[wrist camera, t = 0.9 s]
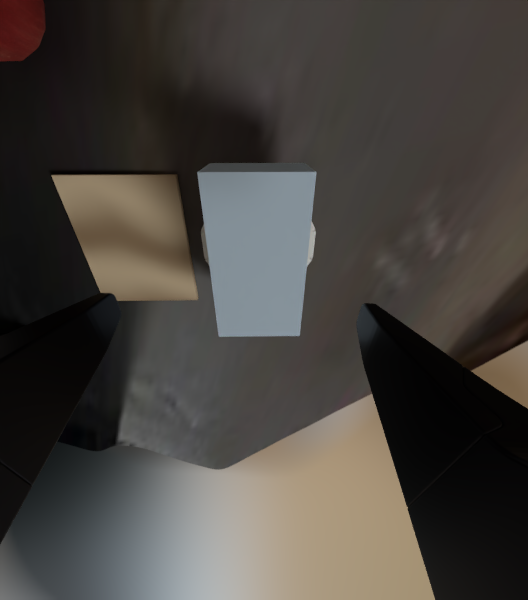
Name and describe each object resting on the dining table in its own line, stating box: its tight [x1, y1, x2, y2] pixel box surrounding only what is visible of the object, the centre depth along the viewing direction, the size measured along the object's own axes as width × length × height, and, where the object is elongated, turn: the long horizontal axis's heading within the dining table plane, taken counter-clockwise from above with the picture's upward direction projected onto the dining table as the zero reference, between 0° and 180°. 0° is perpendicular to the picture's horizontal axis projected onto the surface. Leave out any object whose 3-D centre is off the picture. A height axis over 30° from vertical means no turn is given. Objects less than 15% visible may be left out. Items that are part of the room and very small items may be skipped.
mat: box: [51, 174, 198, 301], centre depth 22 cm, size 11×9×1 cm
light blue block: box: [197, 163, 316, 337], centre depth 18 cm, size 11×6×4 cm, turn 0°
